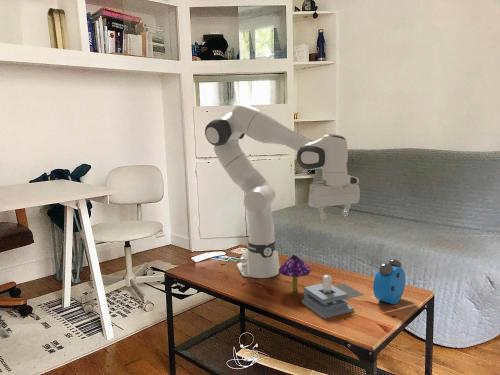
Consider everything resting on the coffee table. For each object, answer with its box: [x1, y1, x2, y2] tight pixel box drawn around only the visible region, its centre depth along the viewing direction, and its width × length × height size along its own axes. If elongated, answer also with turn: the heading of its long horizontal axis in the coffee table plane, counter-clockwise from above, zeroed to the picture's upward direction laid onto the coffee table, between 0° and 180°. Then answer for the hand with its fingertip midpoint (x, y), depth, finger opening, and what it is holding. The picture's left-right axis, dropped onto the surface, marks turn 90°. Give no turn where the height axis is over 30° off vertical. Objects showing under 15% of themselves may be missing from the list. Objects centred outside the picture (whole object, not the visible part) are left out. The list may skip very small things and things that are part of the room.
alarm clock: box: [372, 258, 406, 305], centre depth 143 cm, size 13×6×15 cm, turn 135°
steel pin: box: [322, 274, 333, 295], centre depth 140 cm, size 3×3×10 cm
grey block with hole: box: [301, 282, 355, 320], centre depth 140 cm, size 14×12×6 cm
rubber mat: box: [334, 283, 365, 301], centre depth 153 cm, size 12×12×1 cm
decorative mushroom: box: [279, 254, 312, 293], centre depth 154 cm, size 12×12×15 cm
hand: (334, 217), depth 147 cm, fingers open, 8 cm apart
